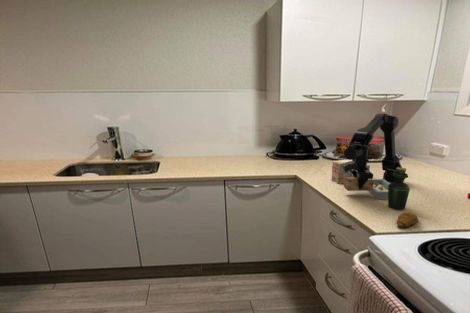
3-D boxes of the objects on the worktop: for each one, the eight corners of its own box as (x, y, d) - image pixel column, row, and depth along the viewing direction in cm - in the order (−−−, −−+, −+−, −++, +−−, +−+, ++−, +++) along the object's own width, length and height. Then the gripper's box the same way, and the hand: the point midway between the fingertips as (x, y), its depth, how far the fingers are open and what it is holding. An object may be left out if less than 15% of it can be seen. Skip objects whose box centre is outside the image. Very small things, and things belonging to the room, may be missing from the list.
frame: (383, 185, 144) (384, 179, 143) (402, 199, 123) (403, 192, 123) (360, 184, 145) (361, 178, 144) (375, 198, 125) (376, 192, 124)
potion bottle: (381, 204, 119) (386, 166, 115) (398, 203, 119) (403, 165, 115) (393, 211, 111) (398, 171, 107) (411, 210, 111) (417, 170, 107)
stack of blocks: (361, 177, 159) (362, 157, 156) (368, 180, 153) (370, 160, 150) (331, 180, 153) (332, 160, 151) (338, 184, 148) (339, 163, 145)
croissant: (409, 233, 94) (411, 220, 93) (389, 226, 99) (391, 214, 98) (424, 222, 101) (426, 211, 100) (405, 216, 107) (407, 205, 105)
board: (367, 187, 131) (368, 176, 130) (372, 190, 127) (373, 180, 125) (344, 187, 132) (344, 177, 131) (347, 190, 127) (348, 180, 126)
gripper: (338, 152, 136) (336, 180, 139) (349, 161, 118) (346, 193, 121) (360, 152, 134) (358, 181, 138) (375, 161, 116) (371, 193, 120)
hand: (358, 186), depth 129 cm, fingers closed on board, 5 cm apart
